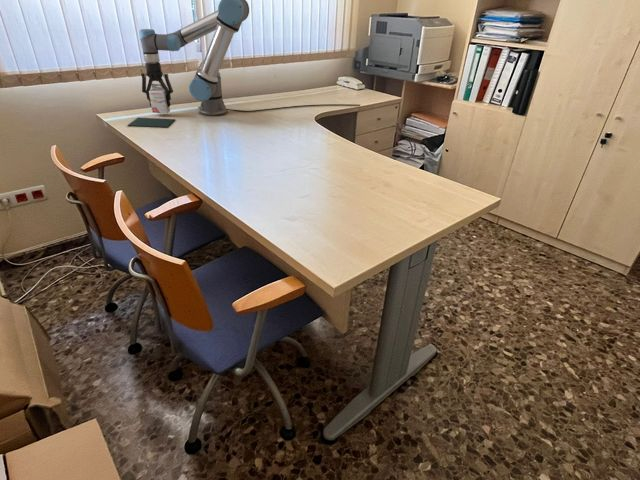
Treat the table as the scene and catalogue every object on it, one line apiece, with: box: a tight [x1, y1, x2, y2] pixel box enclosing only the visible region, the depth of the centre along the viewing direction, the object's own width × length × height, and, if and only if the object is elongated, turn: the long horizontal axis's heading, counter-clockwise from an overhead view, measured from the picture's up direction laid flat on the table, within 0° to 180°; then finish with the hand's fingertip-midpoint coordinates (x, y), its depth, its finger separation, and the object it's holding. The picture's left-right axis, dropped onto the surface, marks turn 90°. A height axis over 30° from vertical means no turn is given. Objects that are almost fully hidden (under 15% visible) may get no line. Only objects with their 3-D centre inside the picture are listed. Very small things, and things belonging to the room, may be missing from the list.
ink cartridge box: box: [149, 83, 171, 115], centre depth 218 cm, size 9×5×15 cm, turn 84°
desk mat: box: [127, 117, 176, 129], centre depth 210 cm, size 20×14×1 cm
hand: (160, 105), depth 220 cm, fingers closed on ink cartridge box, 9 cm apart
